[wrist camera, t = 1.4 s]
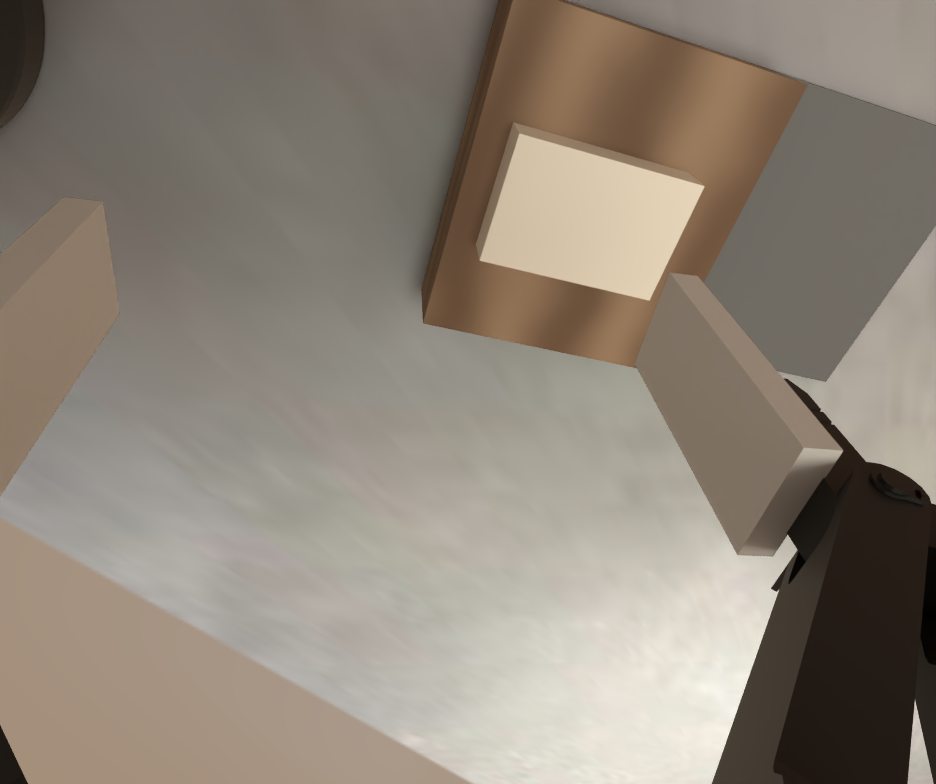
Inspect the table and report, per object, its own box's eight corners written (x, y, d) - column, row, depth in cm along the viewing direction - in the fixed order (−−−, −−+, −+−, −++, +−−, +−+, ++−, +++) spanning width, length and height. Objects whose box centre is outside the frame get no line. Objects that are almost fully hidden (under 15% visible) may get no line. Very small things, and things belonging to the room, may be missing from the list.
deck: (421, 289, 39) (423, 323, 35) (504, -20, 30) (516, -14, 27) (637, 337, 42) (656, 372, 38) (768, 69, 33) (808, 84, 30)
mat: (637, 337, 42) (638, 340, 41) (768, 69, 33) (772, 70, 33) (822, 378, 45) (825, 381, 44) (987, 142, 36) (992, 144, 36)
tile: (475, 244, 33) (479, 260, 31) (513, 122, 30) (519, 133, 28) (638, 283, 35) (649, 300, 33) (689, 173, 32) (704, 186, 30)
